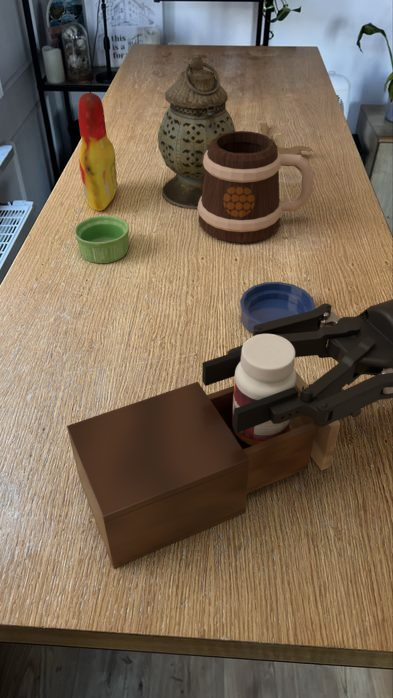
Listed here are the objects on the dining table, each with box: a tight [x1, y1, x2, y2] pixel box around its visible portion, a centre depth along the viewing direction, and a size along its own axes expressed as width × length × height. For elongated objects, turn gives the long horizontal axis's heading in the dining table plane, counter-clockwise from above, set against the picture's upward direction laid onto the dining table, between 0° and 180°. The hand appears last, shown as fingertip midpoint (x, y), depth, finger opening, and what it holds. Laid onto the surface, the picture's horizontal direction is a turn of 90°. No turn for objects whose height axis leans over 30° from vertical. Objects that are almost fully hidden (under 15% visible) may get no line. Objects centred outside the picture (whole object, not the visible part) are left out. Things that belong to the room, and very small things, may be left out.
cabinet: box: [66, 381, 249, 569], centre depth 60 cm, size 15×12×9 cm
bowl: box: [239, 281, 317, 334], centre depth 85 cm, size 11×11×3 cm
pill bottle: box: [232, 334, 297, 446], centre depth 60 cm, size 6×6×11 cm
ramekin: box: [73, 214, 130, 264], centre depth 98 cm, size 9×9×4 cm
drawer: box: [207, 371, 363, 494], centre depth 65 cm, size 18×10×7 cm, turn 115°
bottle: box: [78, 92, 119, 211], centre depth 106 cm, size 12×6×20 cm, turn 175°
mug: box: [197, 130, 315, 244], centre depth 101 cm, size 20×15×15 cm
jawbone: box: [260, 122, 314, 156], centre depth 131 cm, size 9×20×2 cm, turn 27°
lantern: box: [157, 55, 236, 210], centre depth 107 cm, size 14×14×25 cm
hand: (219, 396), depth 57 cm, fingers closed on pill bottle, 6 cm apart
